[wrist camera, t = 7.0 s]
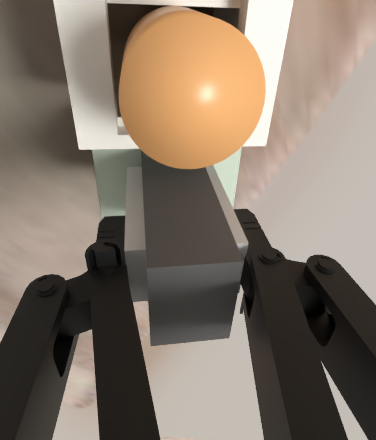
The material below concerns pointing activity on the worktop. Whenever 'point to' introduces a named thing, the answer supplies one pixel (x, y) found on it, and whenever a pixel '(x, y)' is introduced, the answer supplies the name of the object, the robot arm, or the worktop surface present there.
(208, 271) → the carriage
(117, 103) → the cabinet
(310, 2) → the worktop surface
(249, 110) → the button
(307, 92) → the worktop surface
